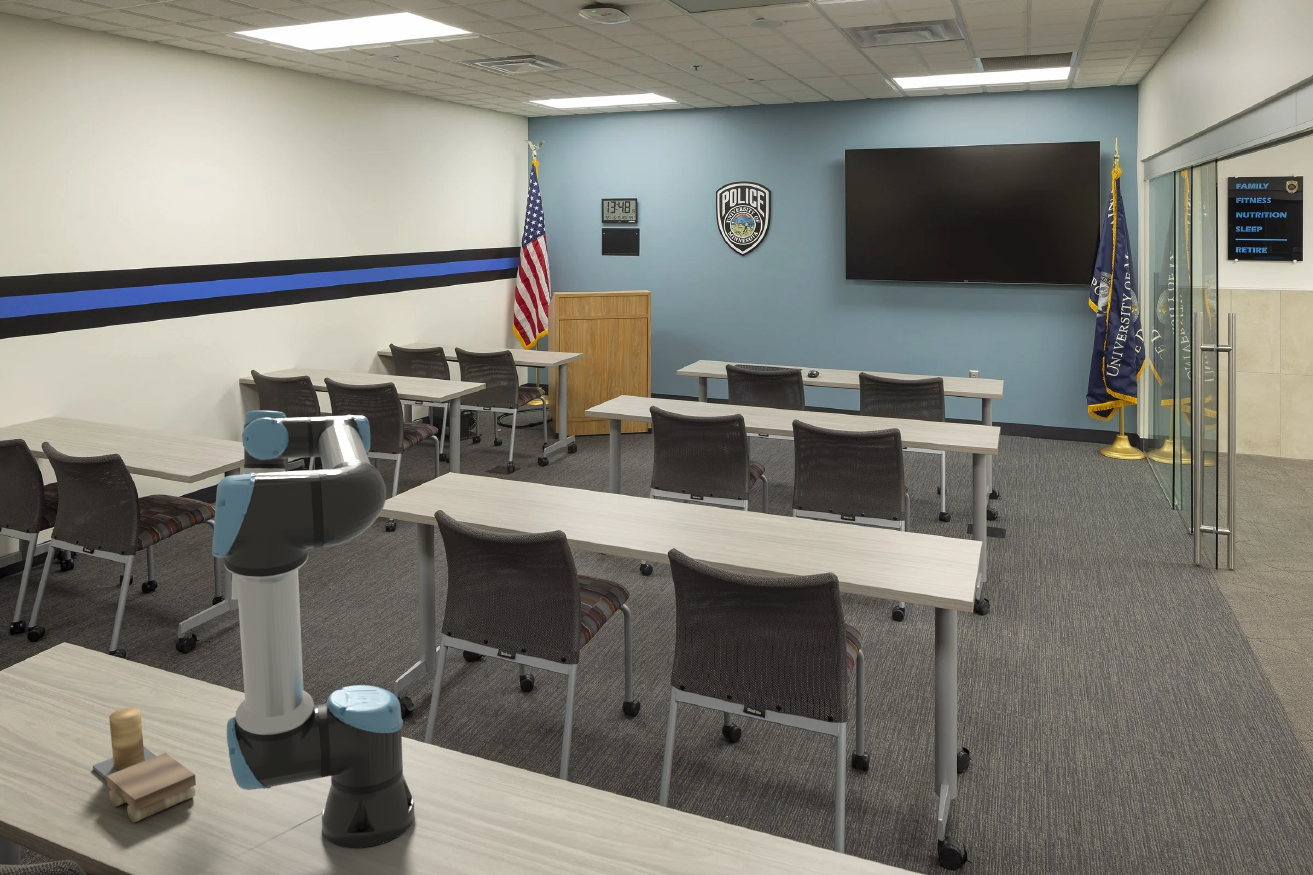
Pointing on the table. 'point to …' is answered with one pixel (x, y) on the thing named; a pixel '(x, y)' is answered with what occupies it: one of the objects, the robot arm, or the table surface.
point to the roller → (126, 738)
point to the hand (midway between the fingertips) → (261, 601)
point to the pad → (108, 766)
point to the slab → (151, 786)
